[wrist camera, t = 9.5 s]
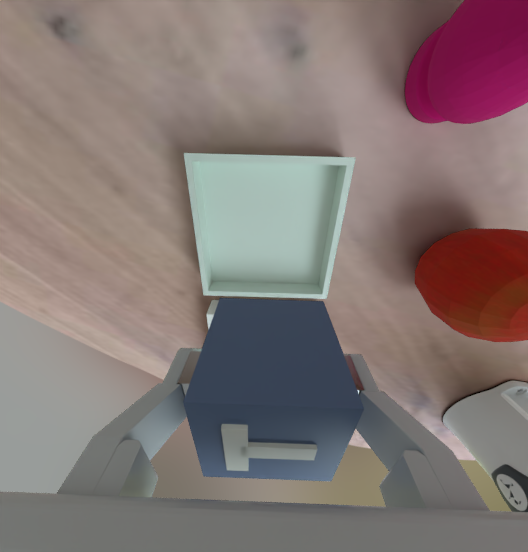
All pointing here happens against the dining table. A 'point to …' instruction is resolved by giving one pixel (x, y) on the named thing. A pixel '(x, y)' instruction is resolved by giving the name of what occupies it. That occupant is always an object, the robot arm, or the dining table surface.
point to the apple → (478, 283)
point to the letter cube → (271, 392)
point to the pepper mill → (472, 64)
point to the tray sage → (267, 222)
